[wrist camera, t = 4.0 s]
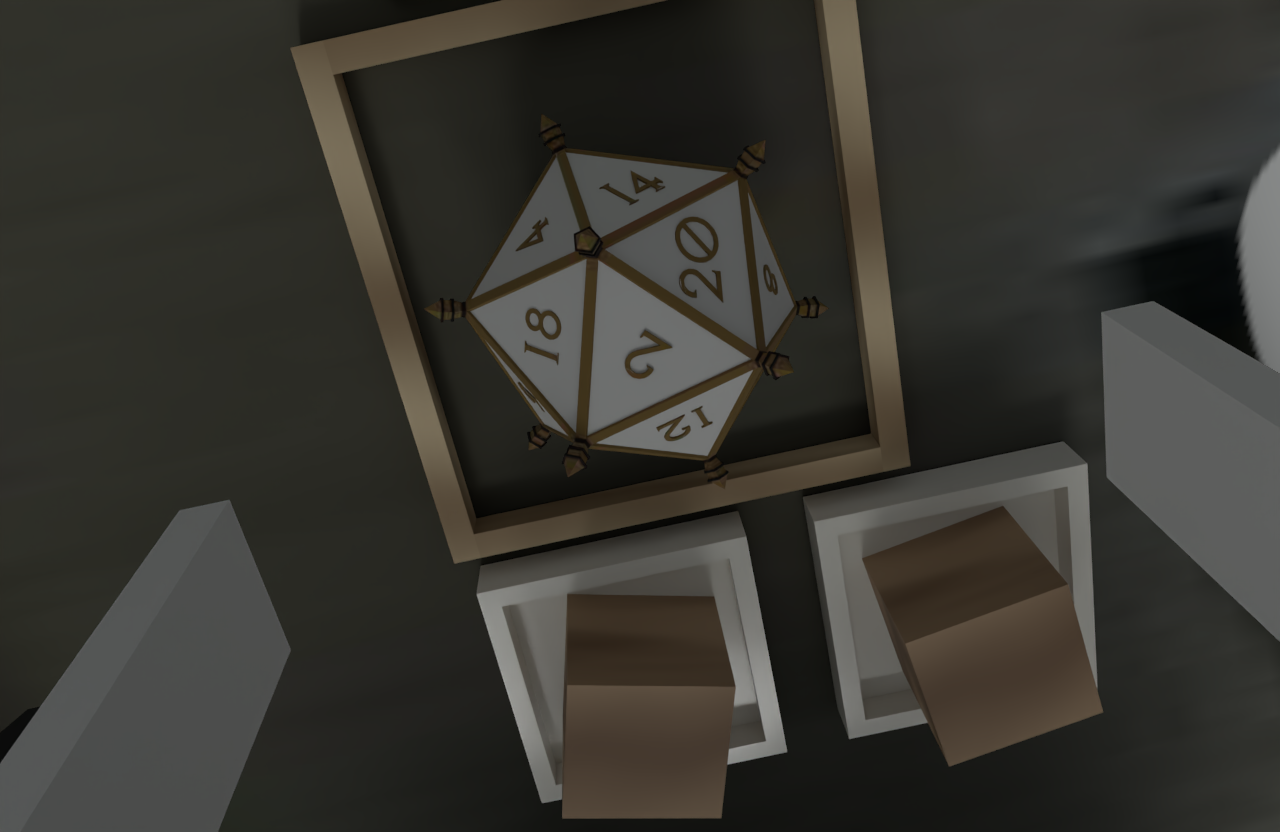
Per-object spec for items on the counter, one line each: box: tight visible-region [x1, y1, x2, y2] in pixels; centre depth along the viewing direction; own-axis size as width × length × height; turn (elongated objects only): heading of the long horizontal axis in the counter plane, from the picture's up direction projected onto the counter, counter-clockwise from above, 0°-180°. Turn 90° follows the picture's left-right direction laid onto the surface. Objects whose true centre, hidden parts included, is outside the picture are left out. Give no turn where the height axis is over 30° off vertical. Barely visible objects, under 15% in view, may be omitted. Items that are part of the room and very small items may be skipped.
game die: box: [424, 114, 829, 489], centre depth 25 cm, size 9×8×10 cm
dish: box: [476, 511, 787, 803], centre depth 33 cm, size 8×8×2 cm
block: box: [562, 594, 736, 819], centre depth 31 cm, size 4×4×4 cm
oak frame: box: [290, 0, 911, 564], centre depth 29 cm, size 15×14×1 cm
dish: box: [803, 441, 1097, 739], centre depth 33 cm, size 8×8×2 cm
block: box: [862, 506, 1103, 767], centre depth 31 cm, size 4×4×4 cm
